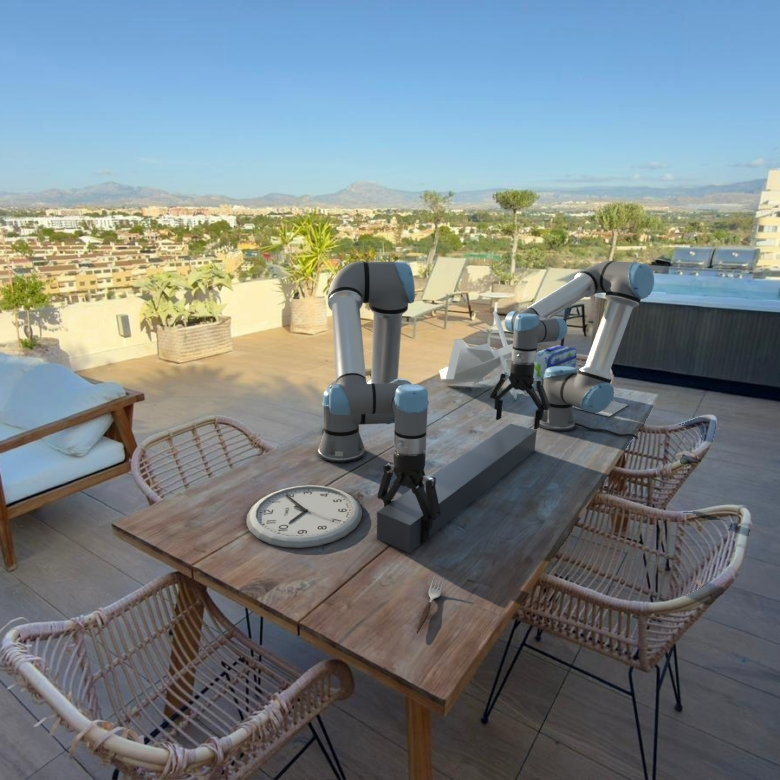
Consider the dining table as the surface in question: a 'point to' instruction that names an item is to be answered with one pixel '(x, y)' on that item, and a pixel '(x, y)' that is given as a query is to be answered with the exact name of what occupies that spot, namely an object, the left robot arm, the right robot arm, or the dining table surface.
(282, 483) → the dining table surface
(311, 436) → the dining table surface
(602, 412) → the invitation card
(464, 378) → the white plastic object
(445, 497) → the wide beam
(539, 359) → the lunch box
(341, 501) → the wall clock
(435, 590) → the fork
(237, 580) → the dining table surface
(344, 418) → the left robot arm
